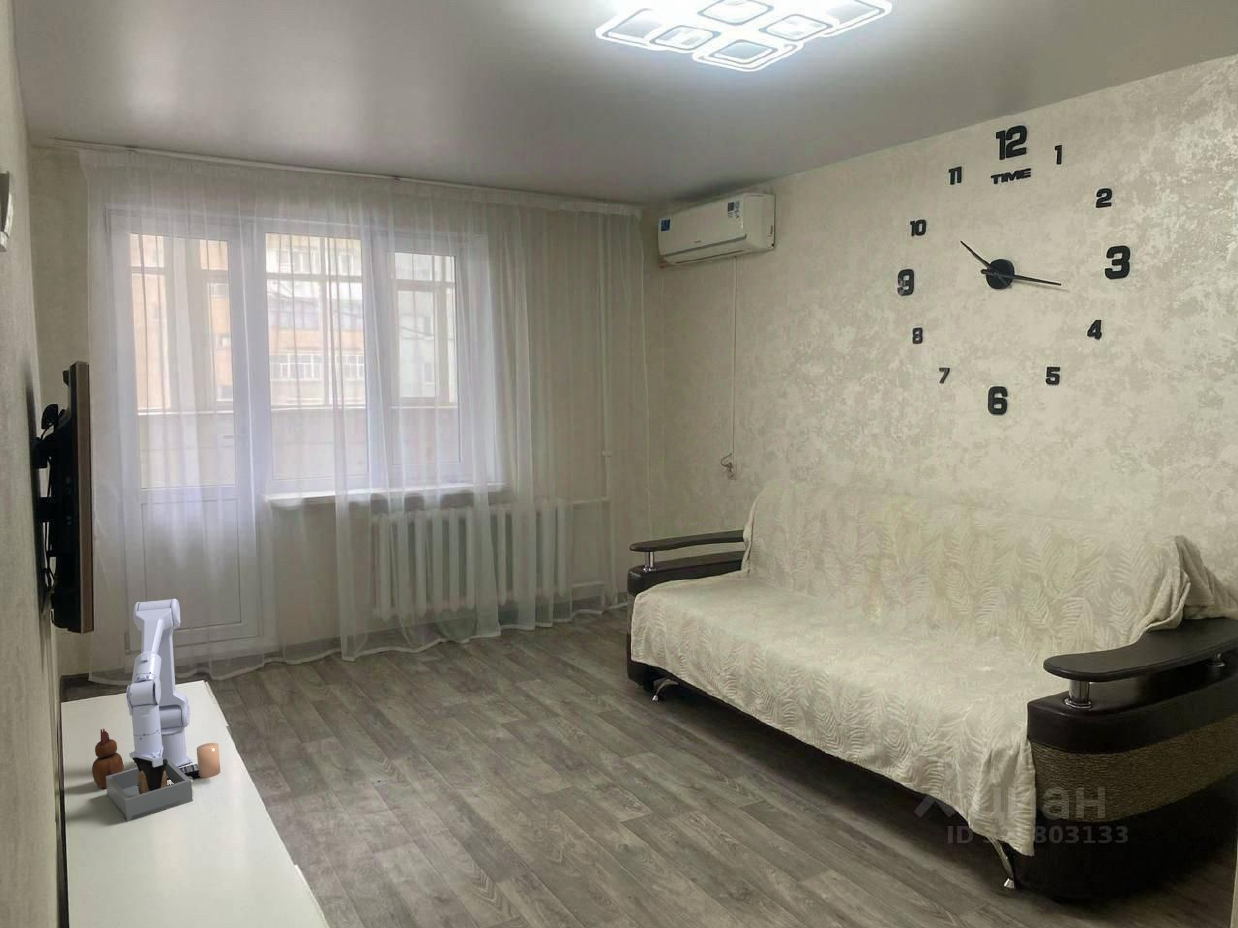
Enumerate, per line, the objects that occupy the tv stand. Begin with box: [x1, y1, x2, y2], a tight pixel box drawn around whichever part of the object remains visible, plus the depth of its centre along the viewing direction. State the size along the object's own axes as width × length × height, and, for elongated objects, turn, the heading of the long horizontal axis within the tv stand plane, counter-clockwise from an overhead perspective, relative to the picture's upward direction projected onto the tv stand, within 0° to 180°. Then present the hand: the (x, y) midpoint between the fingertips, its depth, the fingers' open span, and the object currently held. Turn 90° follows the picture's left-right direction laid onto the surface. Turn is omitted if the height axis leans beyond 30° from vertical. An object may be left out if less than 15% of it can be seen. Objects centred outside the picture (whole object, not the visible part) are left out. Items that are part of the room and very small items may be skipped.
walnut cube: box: [137, 771, 167, 794], centre depth 210 cm, size 5×5×5 cm
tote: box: [106, 759, 194, 823], centre depth 213 cm, size 18×14×5 cm
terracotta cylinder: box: [196, 742, 221, 779], centre depth 226 cm, size 5×5×7 cm
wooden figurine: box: [91, 728, 124, 789], centre depth 221 cm, size 7×6×15 cm
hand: (151, 786), depth 210 cm, fingers closed on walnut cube, 5 cm apart
